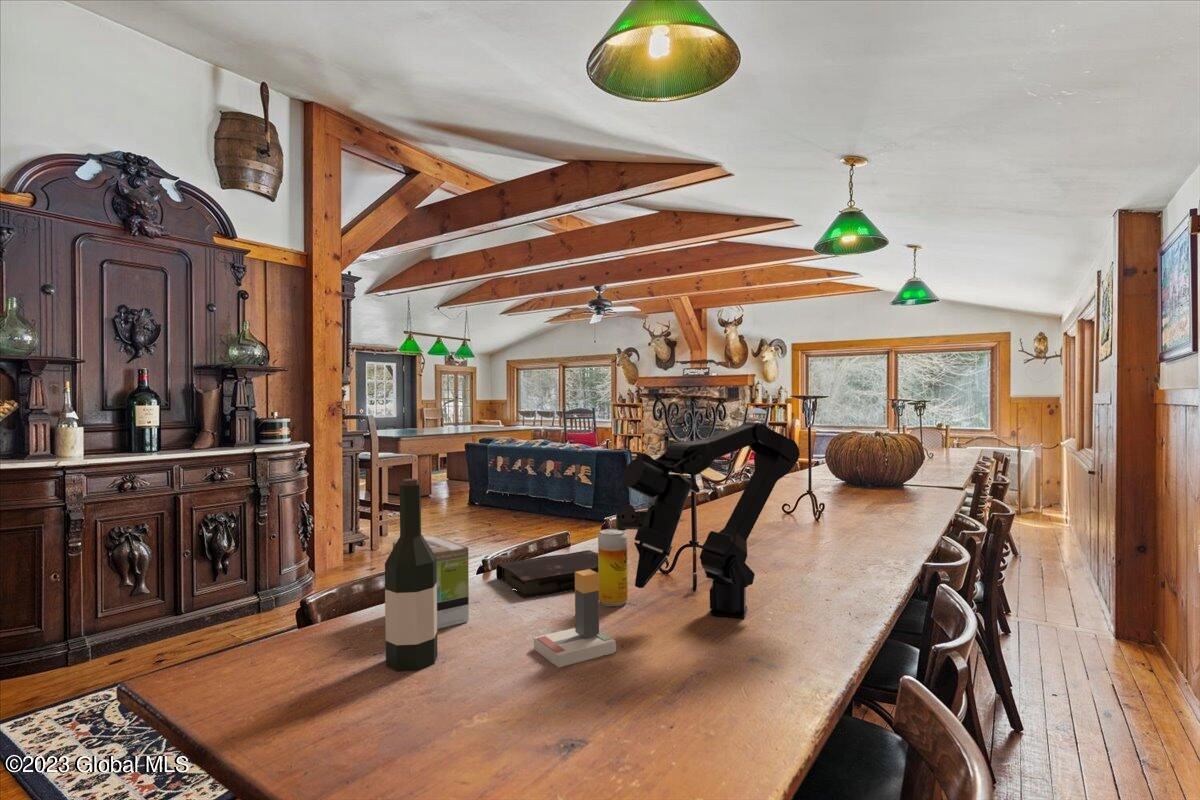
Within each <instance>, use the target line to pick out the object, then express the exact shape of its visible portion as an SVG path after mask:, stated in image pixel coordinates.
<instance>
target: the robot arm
mask: <svg viewBox="0 0 1200 800" xmlns="http://www.w3.org/2000/svg"><path fill="white" fill-rule="evenodd" d="M796 442H797V441H796V440H794V439H792V438H788V437H787V436H785V435H784V434H781V433H779V432H777V431H775V430H773V429H772V428H770V427H768V426H767V424H764V423H762V422H757V421H756V422H755V421H754V422H753V421H750V422H749V421H746V422H744V423H742V424H740V425H737V426H736V427H733V428H730V429H727V430H724V431H722V432H720V433H717V434H714V435H712V436H709V437H706V438H704V439H698V440H687V441H680V442H673V443H671V444H670V445H668V446H666V447H667V448H666V451H665V452H664V453H662V454H661V455H660V456H658V457H657V458H655V459H654V457H653V458H652V456H650V455H649V454H647V453H645V452H638V453H637V455H636V456H635V458H633V459H632V460H631V461H629V463H628V464H627V466H626V467H625V468H624V470H623V473H622V483H623V485H624V486H625V487H626V488H629V489H631V490H633V491H635V492H636V493H639V494H641V495H643V496H645V497H647V498H651V499H652V498H654V499H653V502H652V504H650V505H649V506H648V508H647V510H646V511H640V510H637V511H636V510H635V507H634V505H632V504H624V506H623V507H622V508H621V511H620V510H617V511H616V514H615V515H616V516H615V529H617V530H624V531H626V530H633V531H634V530H637V531H636V534H635V536H634V546H635V548H636V550H637V552H638V555H639V556H638V561H637V568H636V575H635V583H634V587H636V588H638V589H643V588H645V586H646V585H647V584H648V583H649V582H650V581H651V579H652V578H653V577H654V575H656V573H657V572H658V571H659V570H660V568H662V567H663V565H664V564H665V563H666V562H667V560H668V558H670V555H671V553H672V548H673V547H672V543H673V540H674V537H675V534H676V531H677V529H678V526H679V523H680V521H681V517H682V513H683V511H684V508H685V505H686V503H687V500H688V497H689V494H690V493H691V492H693V493H696V494H697V493H700V492H701V489H700V487H699V486H698V483H697V480H696V478H693V477H689V476H690V475H691V476H697V475H699V474H701V473H702V472H705V471H706V470H707V469H709V468H710V467H711V466H712V464H713V462H714V461H716V460H717V459H719V458H721V457H724V456H727V455H729V454H731V453H734V452H736V451H739V450H741V449H744V448H747V447H748V448H749V450H750V451H752V452H753V453H754V456H753V462H754V465H753V466H754V471H753V473H752V475H751V476H750V478H749V479H748V481H747V483H746V486H745V488H744V490H743V492H742V493H741V496H740V498H739V499H738V501H737V503H736V505H735V507H734V508H733V510H732V513H731V515H730V516H729V518H728V520H727V522H726V523H725V526H724V527H723V528H722V529H721V530H720V531H718V532H717V531H713V530H710V532H709V533H708V535H707V537H706V539H705V542H704V543H703V544H702V545H701V546H700V549H701V551H700V555H699V559H700V564H701V568H702V569H703V570H704V574H705V577H706V578H707V579H710V580H712V585H711V586H710V588H709V610H711V612H710V615H711V616H717V617H728V618H738V619H745V618H746V614H747V610H748V606H747V588H748V587H749V586H750V585H753V583H754V579H755V572H754V571H753V570H752V569H751V568H750V567H749V565H747V563H746V562H747V558H748V542H747V541H748V538H749V537H750V535H751V533H752V530H753V528H754V526H755V525H756V523H757V520H758V519H759V517H760V516H761V513H762V511H763V509H764V508H765V505H766V503H767V501H768V499H769V497H770V496H771V493H772V491H773V490H774V487H775V485H776V484H777V482H778V481H779V480H781V479H782V478H783V477H785V476H786V475H788V474H789V473H790V472H791V471H792V469H793V468H794V467H795V466H796V464H797V463H798V461H799V459H800V456H801V455H800V453H801V452H800V449H799V448H800V447H799V446H798V444H797V443H796ZM669 473H672V475H669ZM681 475H689V476H688V477H686V478H685V477H683V476H681Z"/></svg>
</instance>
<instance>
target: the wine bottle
mask: <svg viewBox="0 0 1200 800" xmlns="http://www.w3.org/2000/svg"><path fill="white" fill-rule="evenodd" d="M401 482H402V483H401V484H399V538H398V540H397V541H396V542H397V543H396V545H395V546H394V548H393V547H392V550H391V551H390V553H389V555H388V557H387V559H386V561H385V562H384V600H385V601H384V603H385V604H384V608H385V611H384V615H385V619H384V621H385V622H384V623H385V667H387V668H389V669H391V670H394V671H395V672H412V671H420V670H422V669H424V668H428V667H430V666H432V665H434V664H435V663H436V660H437V659H438V629H437V565H436V556H435V554H434V553H433V551H432V550H431V548H430V547H429V545H428V544H427V542H426V541H425V539H424V538H425V537H424V536H423V535H422V492H421V491H422V490H421V489H422V488H421V487H422V485H421V483H419V479H418V478H404V479H402V481H401Z"/></svg>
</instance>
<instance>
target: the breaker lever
mask: <svg viewBox="0 0 1200 800" xmlns="http://www.w3.org/2000/svg"><path fill="white" fill-rule="evenodd" d="M574 617H575V618H574V621H575V623H574V626H575V627H574V628H575V632H576V633H577V634H579V635H581V636H582V637H584V638H585V637H589V636H593V635H597V634H599V631H600V600H599V573H597V572H595V571H592V570H590V569H588V570H582V571H577V572H575V590H574Z"/></svg>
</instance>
